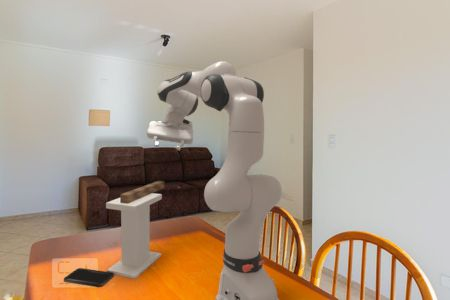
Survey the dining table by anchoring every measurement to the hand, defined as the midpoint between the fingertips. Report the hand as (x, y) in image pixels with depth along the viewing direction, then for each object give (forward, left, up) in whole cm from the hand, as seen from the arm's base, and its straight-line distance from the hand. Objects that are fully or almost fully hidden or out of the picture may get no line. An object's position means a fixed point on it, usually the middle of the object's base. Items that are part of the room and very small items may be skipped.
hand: (167, 147), depth 116 cm
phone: (-9, +32, -45) cm, 56 cm away
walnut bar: (-4, +11, -18) cm, 22 cm away
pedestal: (-7, +15, -44) cm, 48 cm away
